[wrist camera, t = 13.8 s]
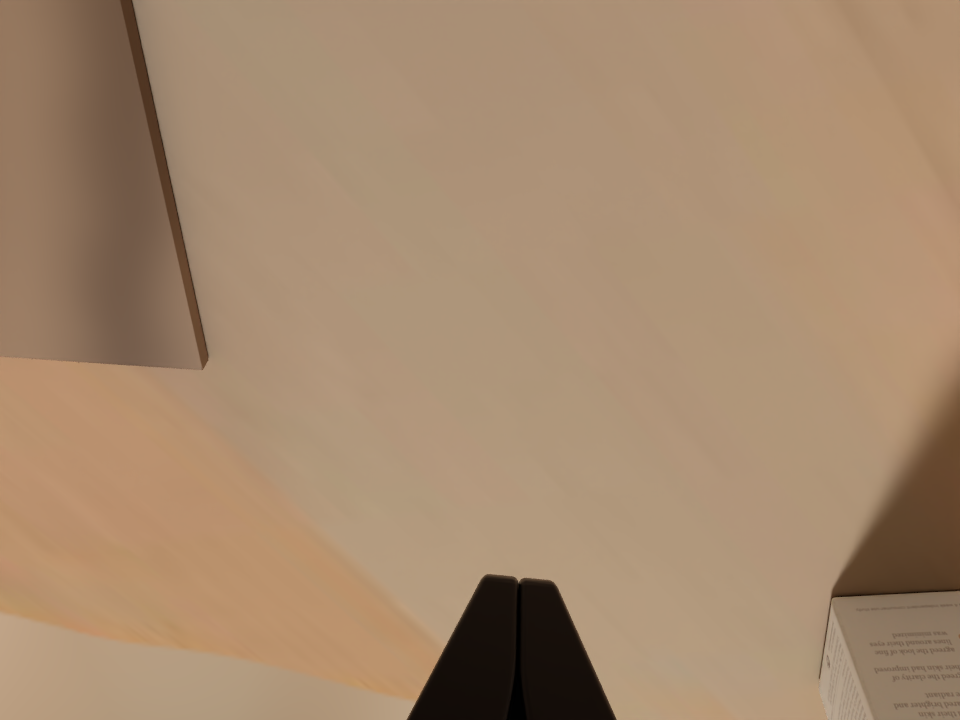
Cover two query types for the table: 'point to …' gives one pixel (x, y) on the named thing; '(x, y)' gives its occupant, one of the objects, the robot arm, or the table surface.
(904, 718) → the small box
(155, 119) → the walnut board
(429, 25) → the table surface
